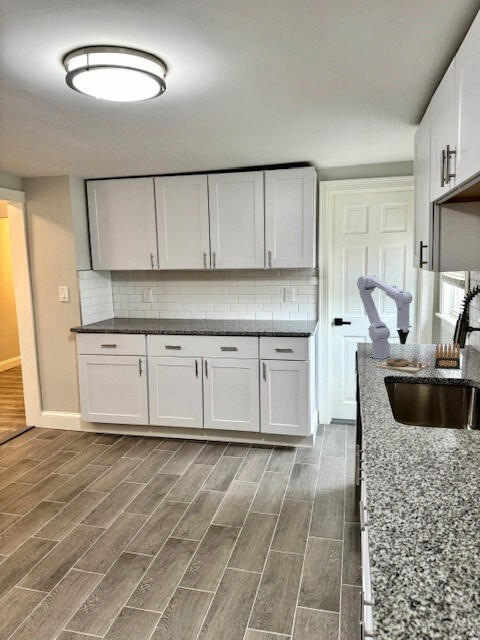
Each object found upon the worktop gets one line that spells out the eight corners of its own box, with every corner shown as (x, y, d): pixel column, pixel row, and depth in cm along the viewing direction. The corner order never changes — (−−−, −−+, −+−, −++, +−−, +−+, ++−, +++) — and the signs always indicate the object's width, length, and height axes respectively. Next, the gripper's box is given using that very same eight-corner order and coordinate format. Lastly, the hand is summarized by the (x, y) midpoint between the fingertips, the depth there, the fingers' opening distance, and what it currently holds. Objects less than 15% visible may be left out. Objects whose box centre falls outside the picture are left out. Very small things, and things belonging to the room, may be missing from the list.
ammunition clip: (434, 368, 208) (435, 343, 206) (434, 367, 210) (435, 342, 208) (460, 369, 205) (460, 343, 203) (459, 368, 206) (460, 343, 205)
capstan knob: (383, 365, 213) (383, 356, 212) (390, 360, 220) (390, 352, 220) (413, 368, 204) (413, 359, 204) (419, 363, 212) (420, 355, 211)
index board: (392, 360, 225) (392, 355, 225) (429, 366, 211) (429, 360, 211) (375, 367, 214) (375, 361, 214) (413, 373, 201) (413, 367, 200)
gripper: (414, 319, 210) (413, 347, 212) (409, 314, 224) (409, 341, 226) (398, 319, 212) (398, 347, 213) (394, 315, 226) (394, 341, 227)
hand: (402, 344), depth 220 cm, fingers closed
